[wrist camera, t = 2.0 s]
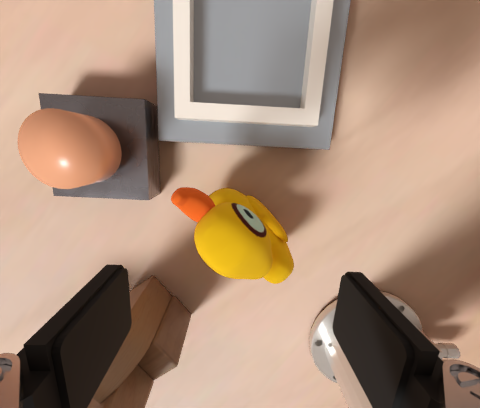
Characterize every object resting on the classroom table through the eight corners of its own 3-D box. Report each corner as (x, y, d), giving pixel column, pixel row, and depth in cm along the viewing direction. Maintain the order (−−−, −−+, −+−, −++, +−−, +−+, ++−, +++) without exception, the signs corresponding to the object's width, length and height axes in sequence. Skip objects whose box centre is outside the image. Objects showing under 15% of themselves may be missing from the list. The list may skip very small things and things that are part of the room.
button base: (157, 106, 21) (144, 99, 18) (160, 193, 22) (148, 200, 20) (67, 101, 20) (38, 93, 17) (77, 189, 22) (53, 195, 19)
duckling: (178, 195, 23) (134, 232, 13) (215, 155, 22) (198, 162, 12) (259, 267, 25) (273, 345, 15) (295, 233, 24) (336, 293, 14)
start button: (119, 117, 17) (94, 110, 14) (123, 183, 18) (102, 190, 15) (50, 113, 17) (10, 105, 14) (59, 180, 18) (25, 187, 15)
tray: (360, -129, 17) (386, -187, 14) (323, 149, 22) (336, 149, 19) (156, -146, 16) (138, -209, 14) (164, 140, 21) (152, 140, 18)
